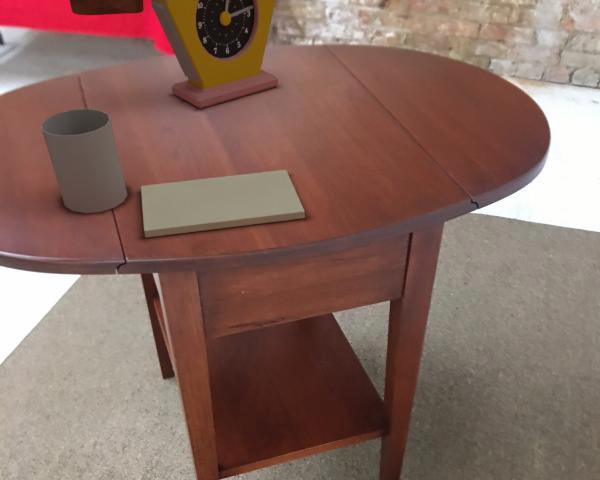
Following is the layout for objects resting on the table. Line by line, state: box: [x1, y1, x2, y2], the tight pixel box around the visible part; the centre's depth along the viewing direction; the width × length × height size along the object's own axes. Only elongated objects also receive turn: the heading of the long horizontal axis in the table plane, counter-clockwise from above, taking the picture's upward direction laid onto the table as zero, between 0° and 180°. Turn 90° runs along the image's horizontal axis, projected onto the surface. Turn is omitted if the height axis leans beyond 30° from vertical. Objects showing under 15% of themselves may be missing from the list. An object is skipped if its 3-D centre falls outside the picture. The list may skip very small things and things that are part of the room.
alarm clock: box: [150, 0, 279, 110], centre depth 105 cm, size 22×9×22 cm, turn 128°
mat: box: [140, 169, 306, 238], centre depth 83 cm, size 20×12×1 cm, turn 102°
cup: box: [40, 108, 128, 214], centre depth 81 cm, size 8×8×10 cm
